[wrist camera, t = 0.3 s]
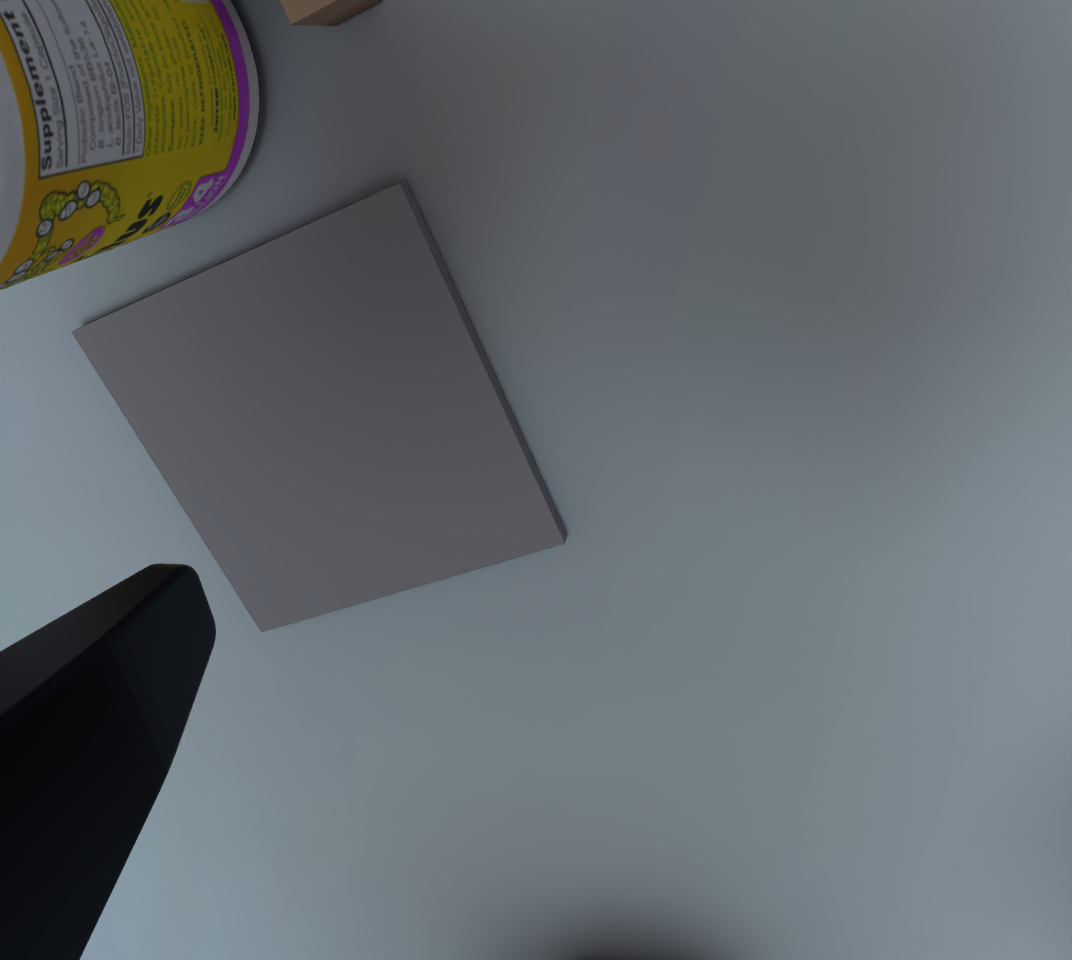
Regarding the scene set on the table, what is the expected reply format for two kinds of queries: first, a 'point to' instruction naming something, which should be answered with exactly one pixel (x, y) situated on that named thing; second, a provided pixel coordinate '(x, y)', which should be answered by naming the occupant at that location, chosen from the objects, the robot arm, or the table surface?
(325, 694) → the table surface
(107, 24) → the supplement bottle
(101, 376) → the pad
